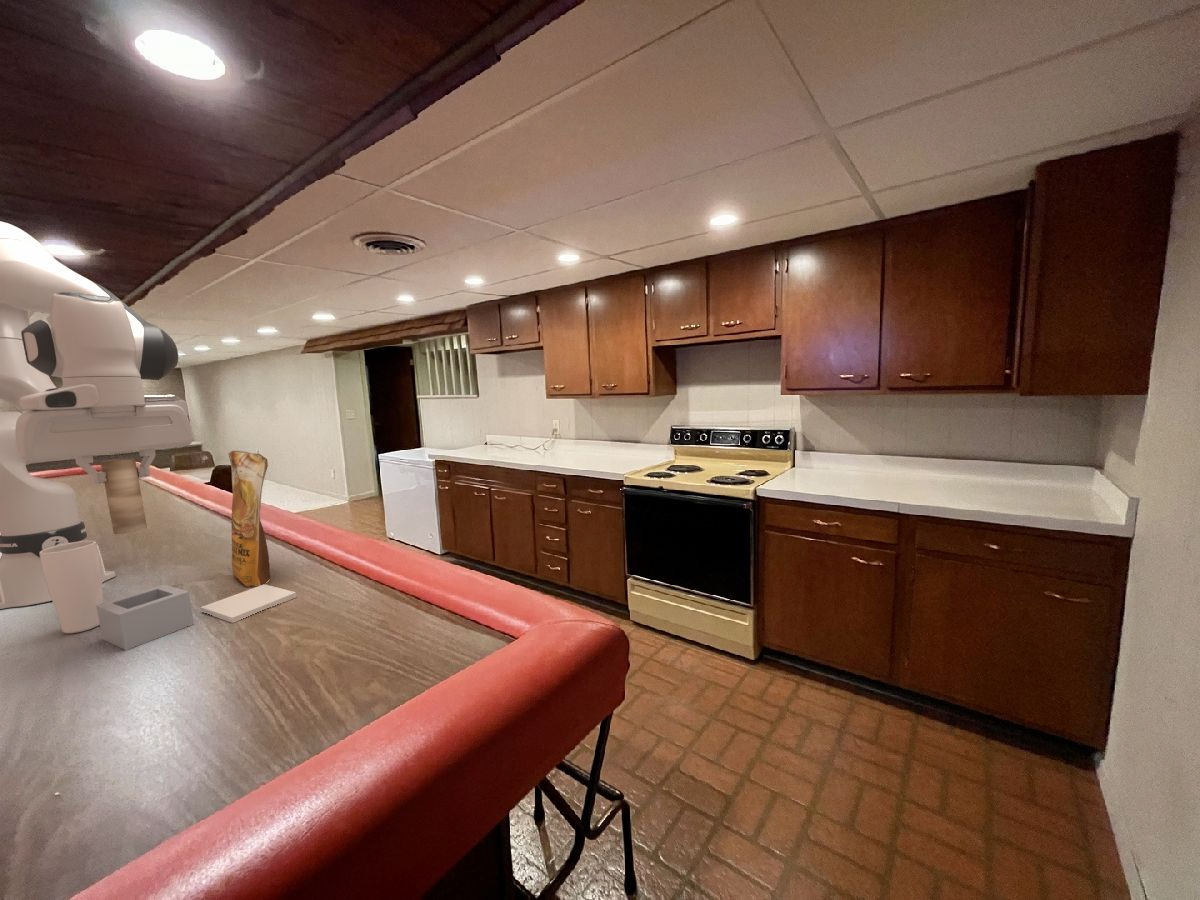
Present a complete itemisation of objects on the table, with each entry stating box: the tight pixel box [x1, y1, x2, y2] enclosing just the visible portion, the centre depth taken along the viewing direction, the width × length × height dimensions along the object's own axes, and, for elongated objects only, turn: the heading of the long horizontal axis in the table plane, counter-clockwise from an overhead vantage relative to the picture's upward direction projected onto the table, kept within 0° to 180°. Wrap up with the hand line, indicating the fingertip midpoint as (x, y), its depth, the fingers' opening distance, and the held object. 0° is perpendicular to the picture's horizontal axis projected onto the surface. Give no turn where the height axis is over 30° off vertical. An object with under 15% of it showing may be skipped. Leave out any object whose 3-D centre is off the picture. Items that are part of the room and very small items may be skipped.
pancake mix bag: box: [227, 450, 271, 588], centre depth 103 cm, size 7×19×28 cm, turn 48°
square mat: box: [200, 584, 297, 624], centre depth 90 cm, size 11×11×1 cm
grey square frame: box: [96, 584, 195, 651], centre depth 81 cm, size 9×9×6 cm
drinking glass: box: [39, 540, 104, 634], centre depth 83 cm, size 7×7×15 cm
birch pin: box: [100, 457, 148, 535], centre depth 78 cm, size 4×4×12 cm
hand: (121, 480), depth 78 cm, fingers closed on birch pin, 4 cm apart
